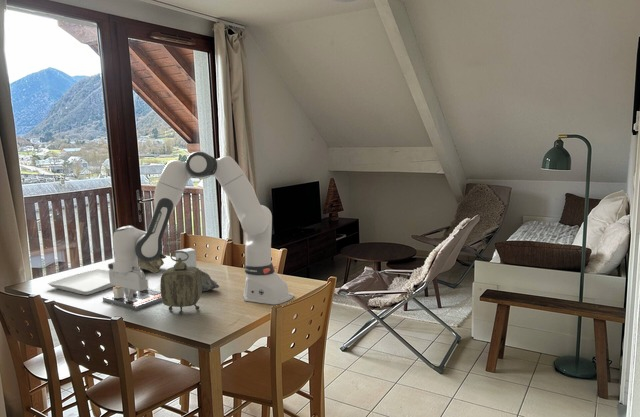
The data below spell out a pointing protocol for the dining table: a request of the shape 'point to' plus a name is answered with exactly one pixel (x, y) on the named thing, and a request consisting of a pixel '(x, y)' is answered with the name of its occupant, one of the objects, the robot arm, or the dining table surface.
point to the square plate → (85, 282)
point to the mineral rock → (207, 282)
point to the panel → (136, 299)
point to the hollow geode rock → (152, 264)
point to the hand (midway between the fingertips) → (129, 297)
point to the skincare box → (192, 256)
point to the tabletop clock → (181, 285)
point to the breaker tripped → (118, 292)
